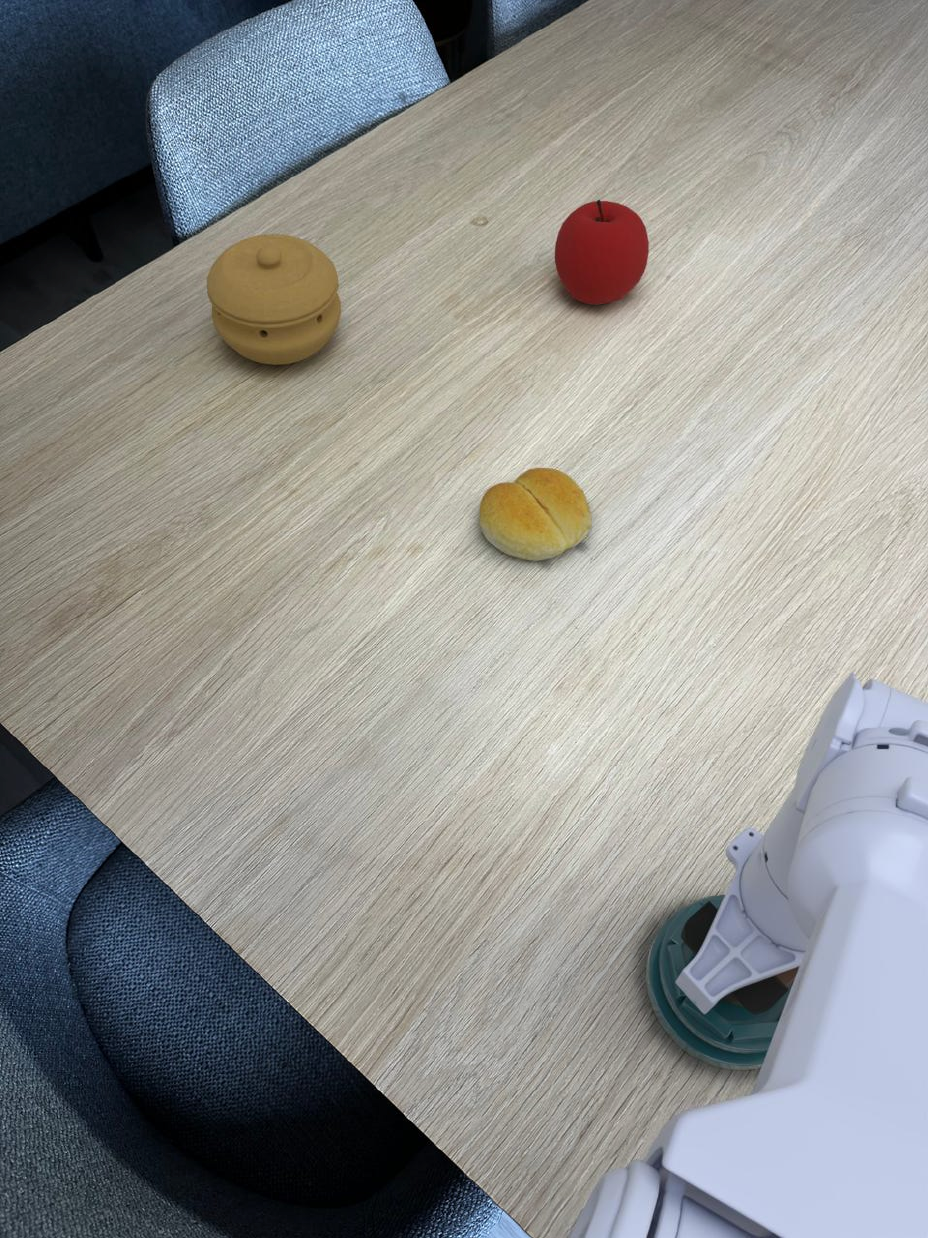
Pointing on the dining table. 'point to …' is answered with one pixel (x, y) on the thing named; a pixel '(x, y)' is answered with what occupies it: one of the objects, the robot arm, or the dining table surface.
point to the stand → (710, 1037)
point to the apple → (601, 252)
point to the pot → (274, 298)
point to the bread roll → (535, 515)
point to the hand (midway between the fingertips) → (751, 953)
